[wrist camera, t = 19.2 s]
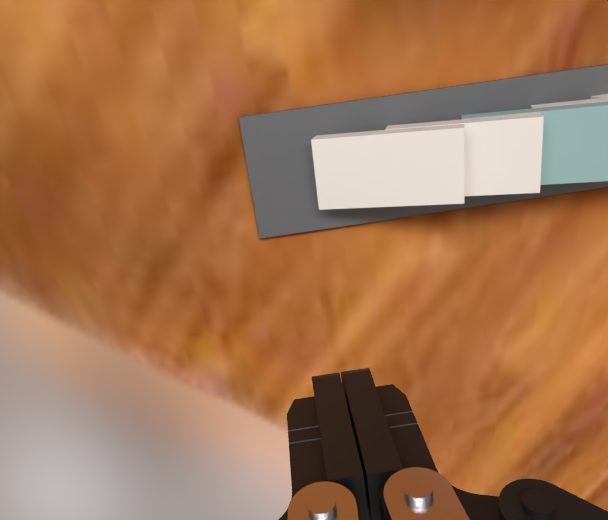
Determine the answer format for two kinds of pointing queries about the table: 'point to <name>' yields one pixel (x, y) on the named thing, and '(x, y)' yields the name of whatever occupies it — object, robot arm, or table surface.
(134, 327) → the table surface
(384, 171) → the domino
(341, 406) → the robot arm
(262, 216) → the strip
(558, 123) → the domino
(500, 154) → the domino
